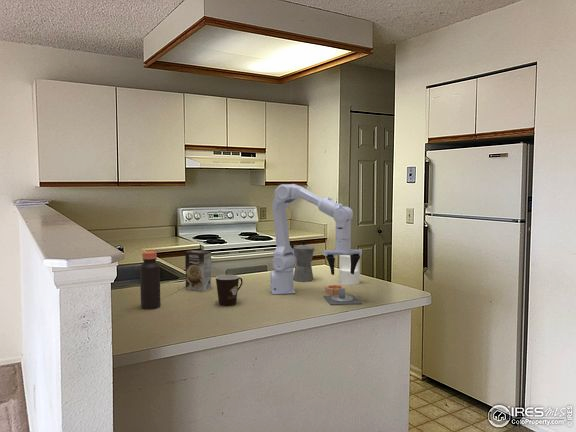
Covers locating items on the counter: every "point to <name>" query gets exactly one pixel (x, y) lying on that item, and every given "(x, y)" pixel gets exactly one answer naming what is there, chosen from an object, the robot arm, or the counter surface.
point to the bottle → (150, 281)
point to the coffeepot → (303, 262)
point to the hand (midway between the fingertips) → (342, 274)
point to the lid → (342, 296)
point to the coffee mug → (227, 289)
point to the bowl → (333, 289)
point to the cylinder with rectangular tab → (348, 271)
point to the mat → (331, 302)
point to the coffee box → (198, 270)
